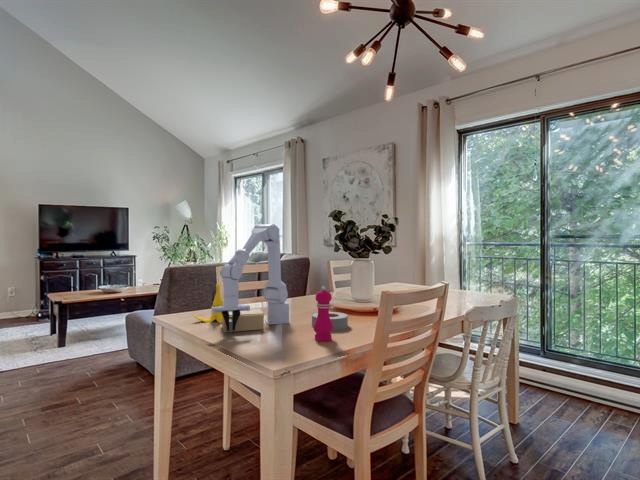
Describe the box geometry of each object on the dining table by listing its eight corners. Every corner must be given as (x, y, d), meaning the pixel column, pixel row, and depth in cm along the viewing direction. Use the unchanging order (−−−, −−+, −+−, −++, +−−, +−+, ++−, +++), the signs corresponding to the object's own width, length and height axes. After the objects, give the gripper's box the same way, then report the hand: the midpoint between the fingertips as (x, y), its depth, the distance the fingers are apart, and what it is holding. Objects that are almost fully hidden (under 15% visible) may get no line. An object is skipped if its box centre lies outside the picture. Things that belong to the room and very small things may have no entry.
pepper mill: (316, 342, 142) (316, 287, 141) (311, 337, 149) (311, 285, 148) (335, 341, 144) (335, 287, 143) (329, 336, 151) (329, 284, 150)
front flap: (263, 328, 160) (263, 314, 160) (266, 332, 154) (266, 317, 154) (224, 331, 155) (224, 316, 155) (226, 335, 149) (226, 320, 149)
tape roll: (323, 321, 177) (323, 310, 177) (353, 325, 170) (353, 313, 169) (304, 328, 164) (305, 316, 164) (336, 333, 156) (337, 320, 156)
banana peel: (233, 324, 169) (234, 286, 169) (192, 323, 171) (192, 285, 171) (245, 316, 185) (245, 281, 185) (207, 315, 188) (207, 280, 188)
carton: (260, 323, 170) (260, 308, 170) (263, 329, 161) (263, 313, 160) (222, 326, 165) (222, 310, 165) (223, 331, 156) (223, 315, 156)
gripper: (212, 297, 144) (212, 334, 145) (251, 295, 150) (251, 331, 150) (210, 294, 151) (210, 329, 151) (248, 293, 156) (248, 326, 156)
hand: (230, 330), depth 151 cm, fingers closed
